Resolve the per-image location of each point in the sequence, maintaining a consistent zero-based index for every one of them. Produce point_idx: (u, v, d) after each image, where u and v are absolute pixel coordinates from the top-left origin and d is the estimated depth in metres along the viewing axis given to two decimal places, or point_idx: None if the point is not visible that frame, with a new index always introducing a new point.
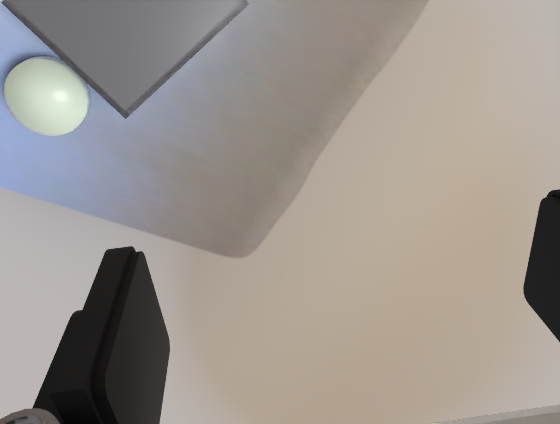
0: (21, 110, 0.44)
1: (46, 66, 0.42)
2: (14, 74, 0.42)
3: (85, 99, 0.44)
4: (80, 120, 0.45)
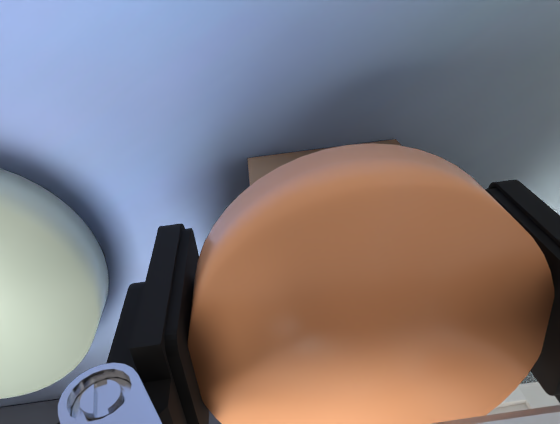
0: None
1: (55, 363, 0.14)
2: (72, 284, 0.12)
3: None
4: None
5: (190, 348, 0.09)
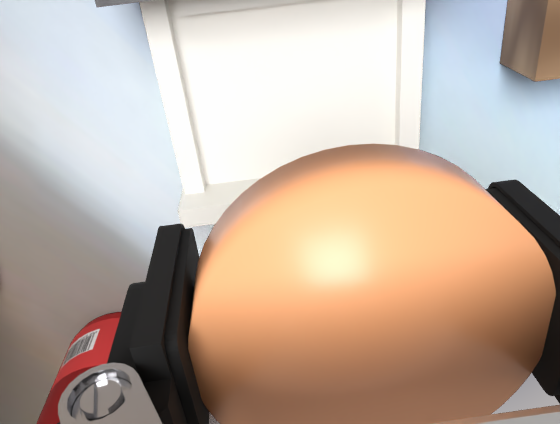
0: None
1: None
2: None
3: None
4: None
5: (190, 349, 0.09)
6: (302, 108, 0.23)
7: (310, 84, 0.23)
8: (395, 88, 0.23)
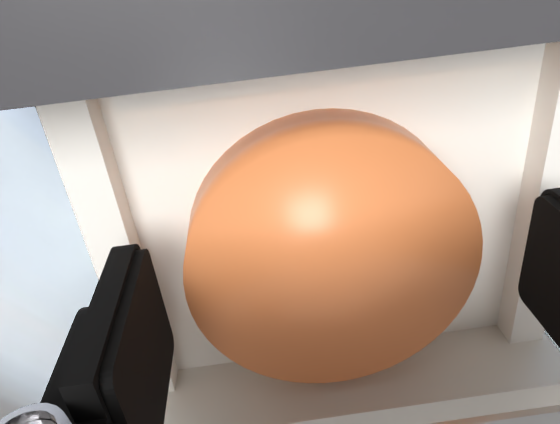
0: None
1: None
2: None
3: None
4: None
5: (185, 274, 0.11)
6: None
7: None
8: (514, 218, 0.13)
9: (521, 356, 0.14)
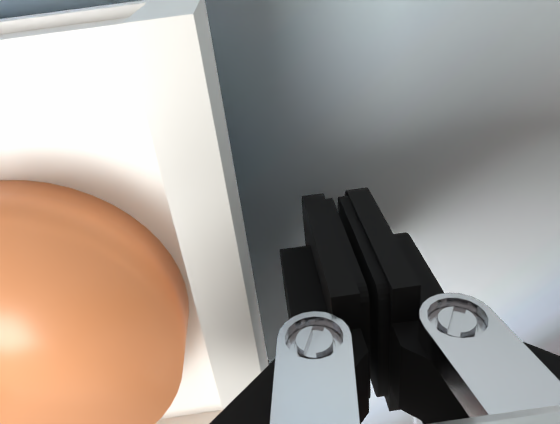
0: None
1: None
2: None
3: None
4: None
5: None
6: None
7: None
8: None
9: None
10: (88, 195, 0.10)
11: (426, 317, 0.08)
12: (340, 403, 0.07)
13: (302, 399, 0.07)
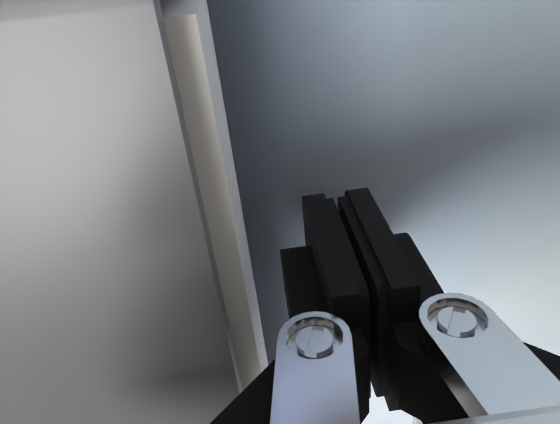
0: None
1: None
2: None
3: None
4: None
5: None
6: None
7: None
8: None
9: None
10: None
11: (425, 317, 0.08)
12: (340, 403, 0.07)
13: (302, 399, 0.07)
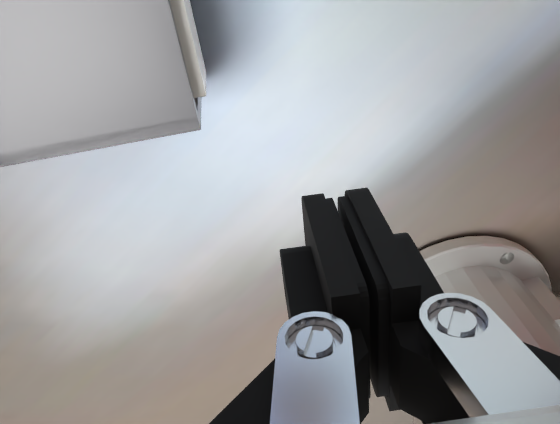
0: None
1: None
2: None
3: None
4: None
5: None
6: None
7: None
8: None
9: None
10: None
11: (426, 317, 0.08)
12: (340, 403, 0.07)
13: (302, 398, 0.07)
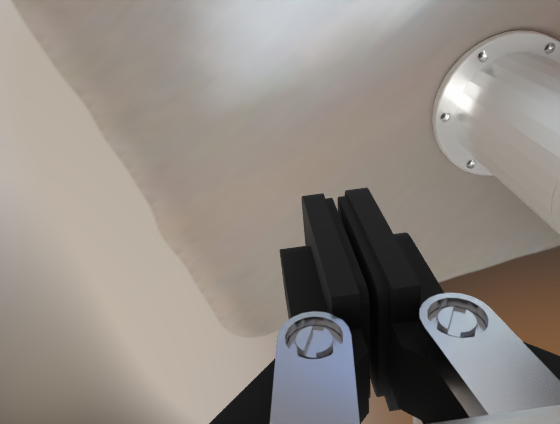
0: None
1: None
2: None
3: None
4: None
5: None
6: None
7: None
8: None
9: None
10: None
11: (426, 317, 0.08)
12: (340, 403, 0.07)
13: (302, 399, 0.07)
